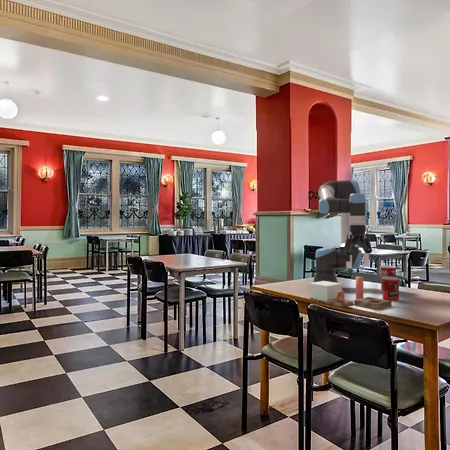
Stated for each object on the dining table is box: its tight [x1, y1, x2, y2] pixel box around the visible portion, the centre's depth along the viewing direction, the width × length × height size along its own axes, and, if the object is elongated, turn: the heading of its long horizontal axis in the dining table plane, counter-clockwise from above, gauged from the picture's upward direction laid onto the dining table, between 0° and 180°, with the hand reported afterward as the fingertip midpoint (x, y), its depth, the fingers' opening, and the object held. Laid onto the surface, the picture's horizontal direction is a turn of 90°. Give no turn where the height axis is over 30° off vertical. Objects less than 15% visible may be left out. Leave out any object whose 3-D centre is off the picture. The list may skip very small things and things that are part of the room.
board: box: [325, 290, 354, 308], centre depth 192 cm, size 9×9×6 cm
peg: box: [355, 276, 364, 300], centre depth 198 cm, size 4×4×12 cm
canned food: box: [382, 276, 400, 302], centre depth 202 cm, size 8×8×11 cm
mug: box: [379, 265, 397, 291], centre depth 224 cm, size 13×9×14 cm
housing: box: [308, 281, 343, 303], centre depth 204 cm, size 12×12×8 cm
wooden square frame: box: [353, 296, 393, 311], centre depth 188 cm, size 12×12×2 cm
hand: (357, 267), depth 198 cm, fingers open, 13 cm apart
